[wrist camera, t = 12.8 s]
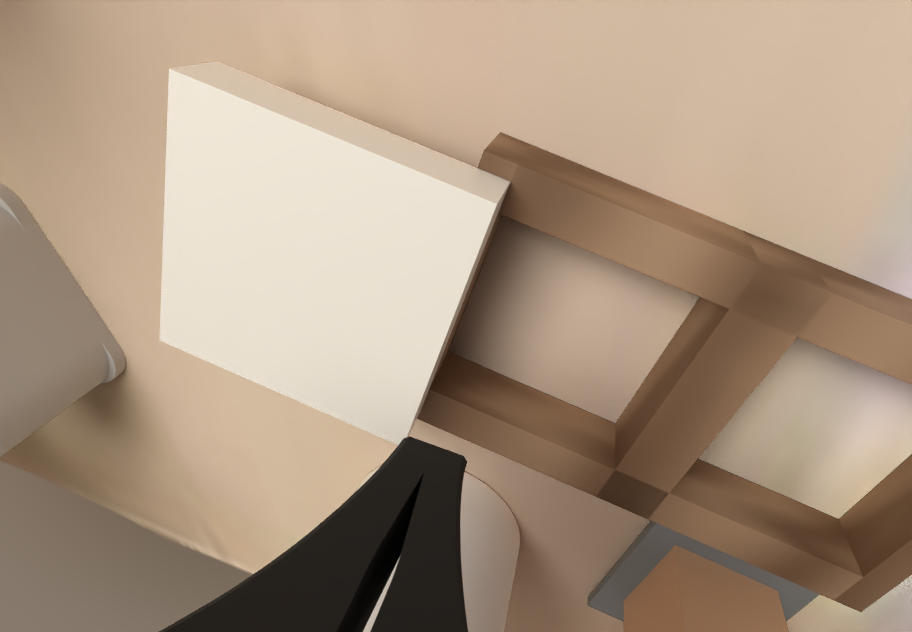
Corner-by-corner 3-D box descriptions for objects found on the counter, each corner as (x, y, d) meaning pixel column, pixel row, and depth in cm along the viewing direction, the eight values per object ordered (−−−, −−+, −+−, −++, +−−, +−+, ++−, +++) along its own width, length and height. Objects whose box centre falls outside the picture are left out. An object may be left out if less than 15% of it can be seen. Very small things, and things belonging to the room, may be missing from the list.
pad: (824, 579, 23) (827, 587, 22) (726, 659, 26) (728, 668, 26) (662, 508, 23) (662, 515, 23) (587, 597, 27) (587, 605, 26)
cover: (510, 181, 16) (497, 204, 14) (420, 410, 20) (403, 447, 19) (216, 61, 16) (168, 68, 14) (196, 312, 21) (159, 340, 19)
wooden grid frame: (1064, 361, 17) (1129, 414, 14) (837, 552, 22) (860, 611, 20) (500, 132, 17) (483, 150, 15) (413, 370, 23) (393, 408, 21)
